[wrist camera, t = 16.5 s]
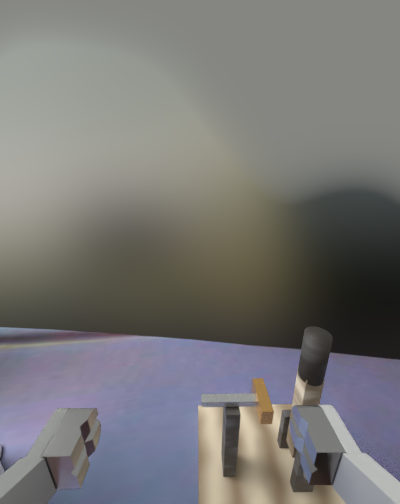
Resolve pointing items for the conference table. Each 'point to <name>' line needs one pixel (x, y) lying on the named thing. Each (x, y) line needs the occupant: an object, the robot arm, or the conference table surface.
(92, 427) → the robot arm
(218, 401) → the pin
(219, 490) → the frame
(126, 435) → the conference table surface
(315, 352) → the lever
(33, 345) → the conference table surface
